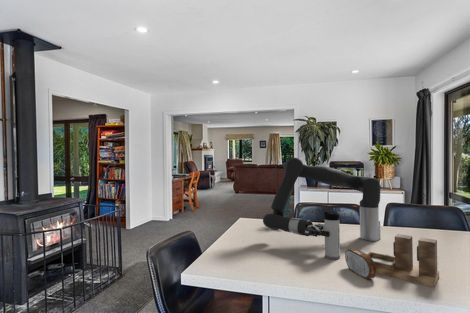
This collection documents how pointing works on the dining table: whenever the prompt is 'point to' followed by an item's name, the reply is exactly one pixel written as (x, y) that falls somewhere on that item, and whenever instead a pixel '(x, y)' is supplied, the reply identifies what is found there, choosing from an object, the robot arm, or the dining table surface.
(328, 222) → the travel mug
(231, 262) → the dining table surface
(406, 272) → the brown wooden piece
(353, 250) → the tin
